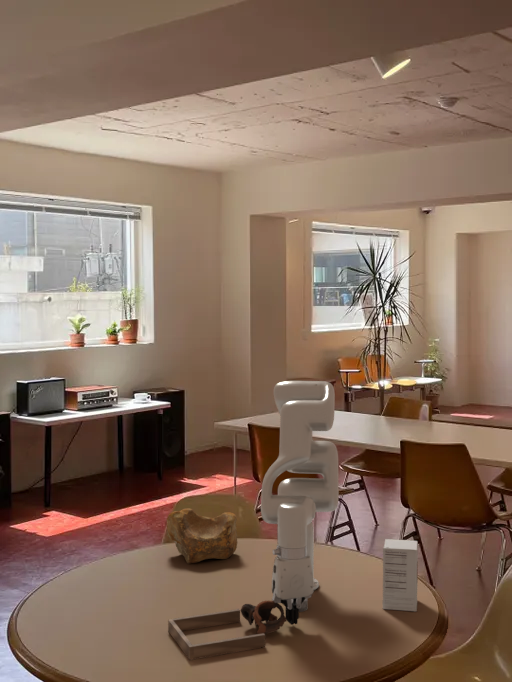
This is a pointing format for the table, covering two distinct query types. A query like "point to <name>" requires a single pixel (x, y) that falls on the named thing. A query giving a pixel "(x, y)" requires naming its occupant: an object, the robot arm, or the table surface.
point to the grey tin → (303, 605)
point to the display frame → (216, 646)
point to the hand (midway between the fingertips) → (292, 622)
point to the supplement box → (400, 574)
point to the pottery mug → (264, 616)
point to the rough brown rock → (202, 535)
